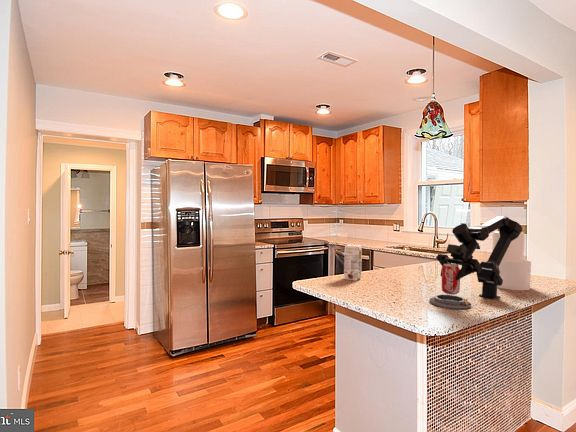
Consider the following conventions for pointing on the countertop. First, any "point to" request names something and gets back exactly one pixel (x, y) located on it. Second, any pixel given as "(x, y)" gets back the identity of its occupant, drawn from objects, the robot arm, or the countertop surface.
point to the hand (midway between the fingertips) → (448, 277)
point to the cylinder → (514, 265)
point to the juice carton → (352, 262)
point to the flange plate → (450, 301)
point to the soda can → (450, 279)
